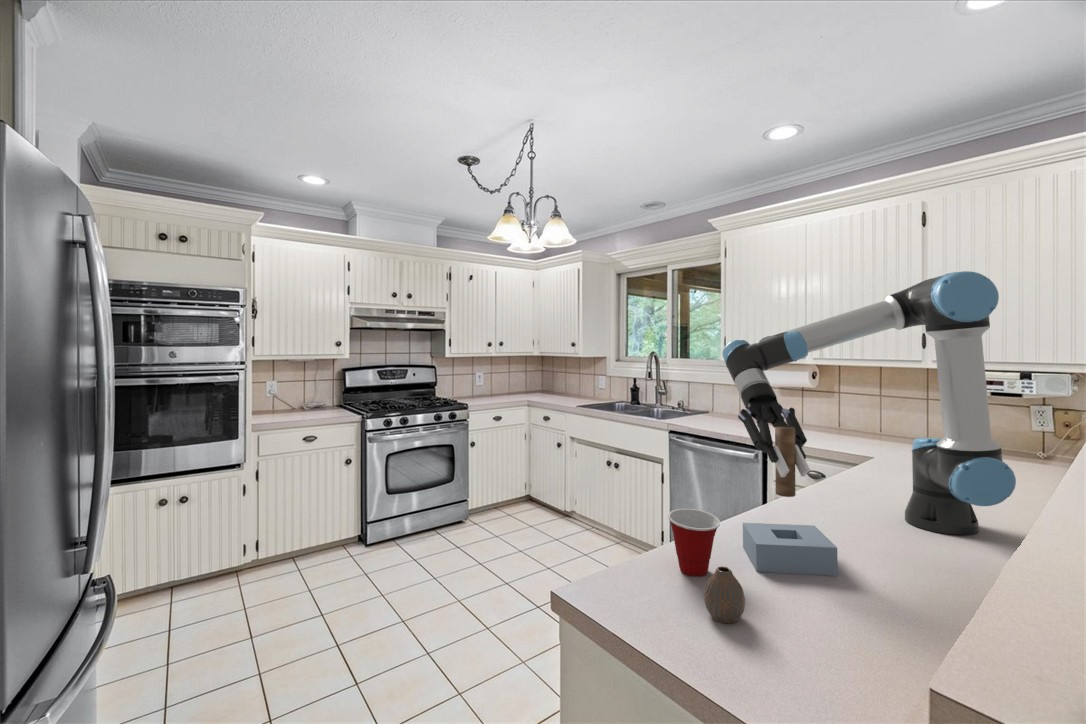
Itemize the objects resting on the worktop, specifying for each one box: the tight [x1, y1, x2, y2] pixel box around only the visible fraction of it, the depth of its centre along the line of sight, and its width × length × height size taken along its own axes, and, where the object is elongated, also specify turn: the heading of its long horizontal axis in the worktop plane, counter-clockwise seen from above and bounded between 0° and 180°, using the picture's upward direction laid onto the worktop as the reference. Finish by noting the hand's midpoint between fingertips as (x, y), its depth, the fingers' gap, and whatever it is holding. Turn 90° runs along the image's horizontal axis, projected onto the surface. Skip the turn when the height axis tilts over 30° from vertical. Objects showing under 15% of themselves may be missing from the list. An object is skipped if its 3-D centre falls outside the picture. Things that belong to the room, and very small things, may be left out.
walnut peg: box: [774, 426, 797, 498], centre depth 110 cm, size 4×4×15 cm
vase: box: [703, 565, 746, 624], centre depth 88 cm, size 7×7×9 cm
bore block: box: [742, 522, 839, 577], centre depth 110 cm, size 16×13×6 cm
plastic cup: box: [667, 508, 721, 578], centre depth 106 cm, size 11×11×12 cm
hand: (795, 473), depth 106 cm, fingers closed on walnut peg, 4 cm apart
